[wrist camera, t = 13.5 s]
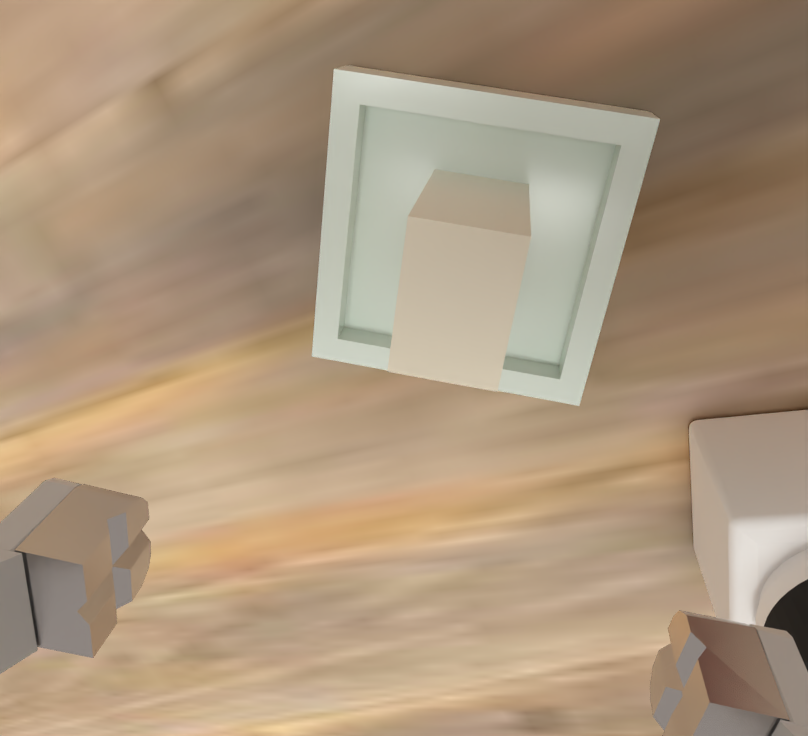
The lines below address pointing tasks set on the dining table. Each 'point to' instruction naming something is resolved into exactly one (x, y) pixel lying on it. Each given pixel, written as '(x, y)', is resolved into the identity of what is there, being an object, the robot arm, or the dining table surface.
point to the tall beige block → (460, 279)
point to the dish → (492, 158)
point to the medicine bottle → (753, 518)
